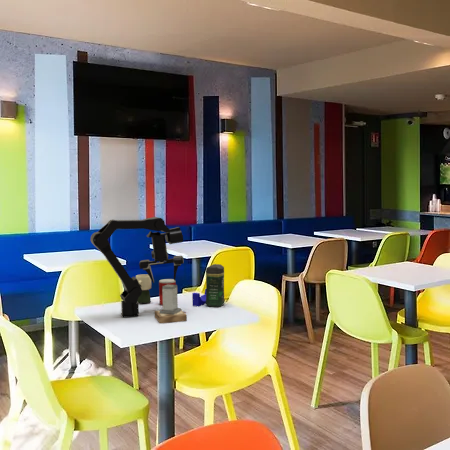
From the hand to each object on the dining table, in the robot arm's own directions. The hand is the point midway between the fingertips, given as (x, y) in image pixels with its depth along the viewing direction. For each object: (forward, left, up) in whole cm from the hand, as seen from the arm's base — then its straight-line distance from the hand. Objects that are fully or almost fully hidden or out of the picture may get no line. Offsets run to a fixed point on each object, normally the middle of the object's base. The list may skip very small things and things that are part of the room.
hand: (164, 281), depth 234 cm
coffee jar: (+25, +5, -13) cm, 29 cm away
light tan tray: (0, -13, -13) cm, 19 cm away
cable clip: (+19, +10, -14) cm, 26 cm away
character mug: (-5, +21, -13) cm, 25 cm away
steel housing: (0, -13, -10) cm, 17 cm away
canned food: (+5, +15, -13) cm, 21 cm away
